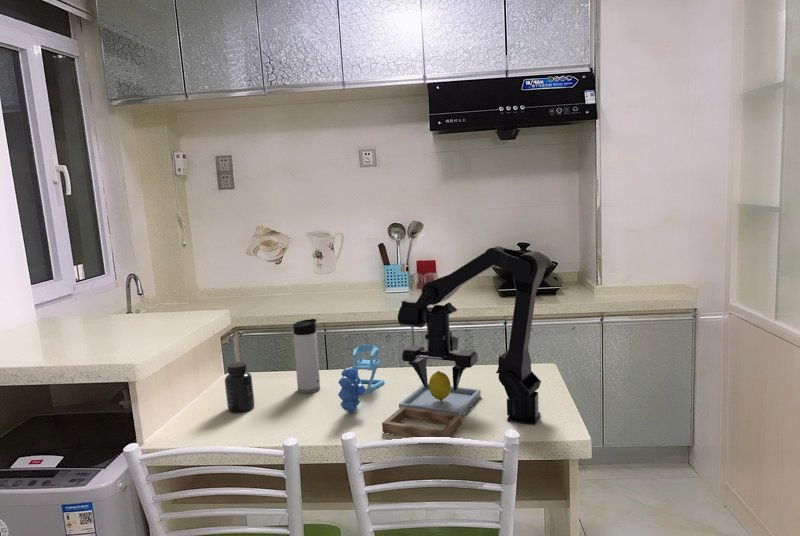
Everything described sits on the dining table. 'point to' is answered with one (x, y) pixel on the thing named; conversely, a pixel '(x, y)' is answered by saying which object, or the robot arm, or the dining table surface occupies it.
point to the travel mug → (306, 356)
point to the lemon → (439, 385)
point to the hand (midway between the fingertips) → (440, 388)
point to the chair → (367, 365)
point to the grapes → (350, 389)
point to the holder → (404, 430)
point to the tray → (451, 404)
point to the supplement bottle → (239, 388)
